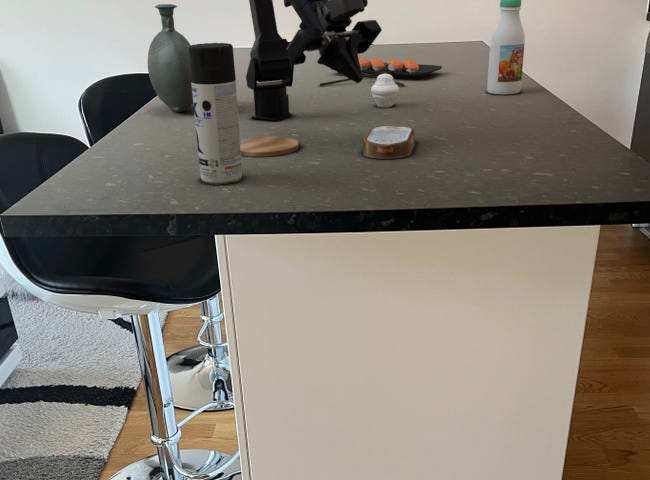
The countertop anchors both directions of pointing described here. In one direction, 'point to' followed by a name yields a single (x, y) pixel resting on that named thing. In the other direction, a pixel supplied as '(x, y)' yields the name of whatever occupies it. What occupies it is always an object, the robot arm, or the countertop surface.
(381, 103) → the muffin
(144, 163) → the countertop surface
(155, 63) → the flask
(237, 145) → the spray can
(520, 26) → the milk bottle
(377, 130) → the tin
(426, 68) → the sushi plate
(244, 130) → the countertop surface
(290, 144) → the wooden coaster
